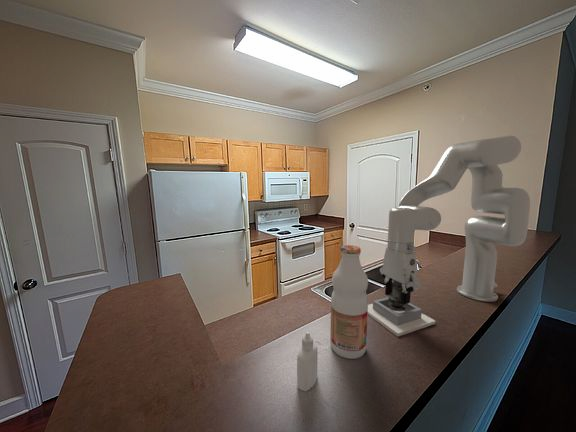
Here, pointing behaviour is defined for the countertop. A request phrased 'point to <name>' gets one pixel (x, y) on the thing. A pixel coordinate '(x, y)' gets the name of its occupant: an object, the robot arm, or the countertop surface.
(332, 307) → the fruit juice
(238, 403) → the countertop surface
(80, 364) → the countertop surface
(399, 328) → the socket
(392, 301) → the stone chess piece
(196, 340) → the countertop surface
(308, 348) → the eye dropper bottle
